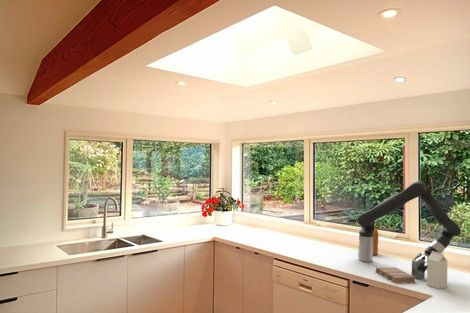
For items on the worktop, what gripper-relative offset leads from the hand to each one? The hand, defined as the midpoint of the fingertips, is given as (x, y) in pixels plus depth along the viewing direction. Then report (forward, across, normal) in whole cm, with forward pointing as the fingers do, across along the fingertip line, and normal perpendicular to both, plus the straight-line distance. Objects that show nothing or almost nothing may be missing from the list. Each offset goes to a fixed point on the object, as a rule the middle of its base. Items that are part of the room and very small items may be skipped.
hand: (417, 269), depth 214 cm
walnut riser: (+13, -2, -6) cm, 14 cm away
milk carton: (+3, +15, +5) cm, 16 cm away
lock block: (+3, 0, +4) cm, 5 cm away
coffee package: (+3, -58, +4) cm, 58 cm away
